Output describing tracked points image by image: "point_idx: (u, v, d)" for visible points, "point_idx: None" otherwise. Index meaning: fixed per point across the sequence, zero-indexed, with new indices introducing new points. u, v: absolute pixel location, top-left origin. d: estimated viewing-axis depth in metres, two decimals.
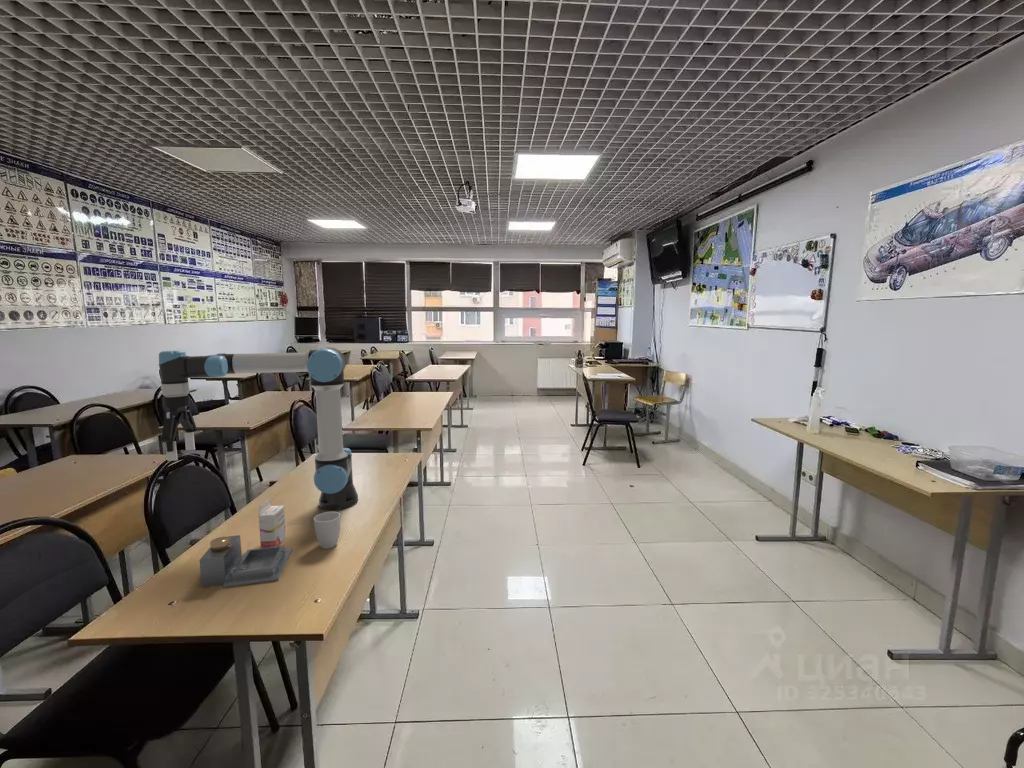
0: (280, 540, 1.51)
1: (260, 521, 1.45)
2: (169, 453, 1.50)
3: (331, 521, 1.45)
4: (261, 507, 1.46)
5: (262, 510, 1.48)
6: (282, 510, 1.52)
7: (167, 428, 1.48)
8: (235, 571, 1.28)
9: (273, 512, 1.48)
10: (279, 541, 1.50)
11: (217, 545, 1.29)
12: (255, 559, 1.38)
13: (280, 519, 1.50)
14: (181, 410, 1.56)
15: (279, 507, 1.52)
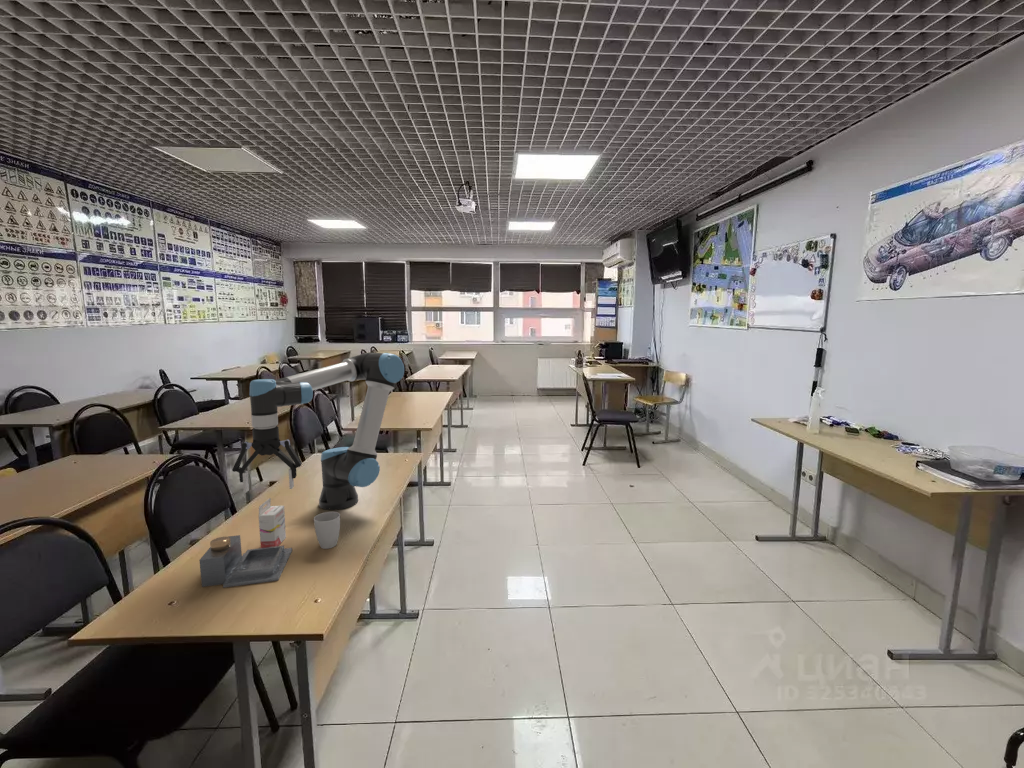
0: (280, 540, 1.51)
1: (260, 521, 1.45)
2: None
3: (331, 521, 1.45)
4: (261, 507, 1.46)
5: (262, 510, 1.48)
6: (282, 510, 1.52)
7: None
8: (235, 571, 1.28)
9: (273, 512, 1.48)
10: (279, 541, 1.50)
11: (217, 545, 1.29)
12: (255, 559, 1.38)
13: (280, 519, 1.50)
14: (266, 443, 1.45)
15: (279, 507, 1.52)
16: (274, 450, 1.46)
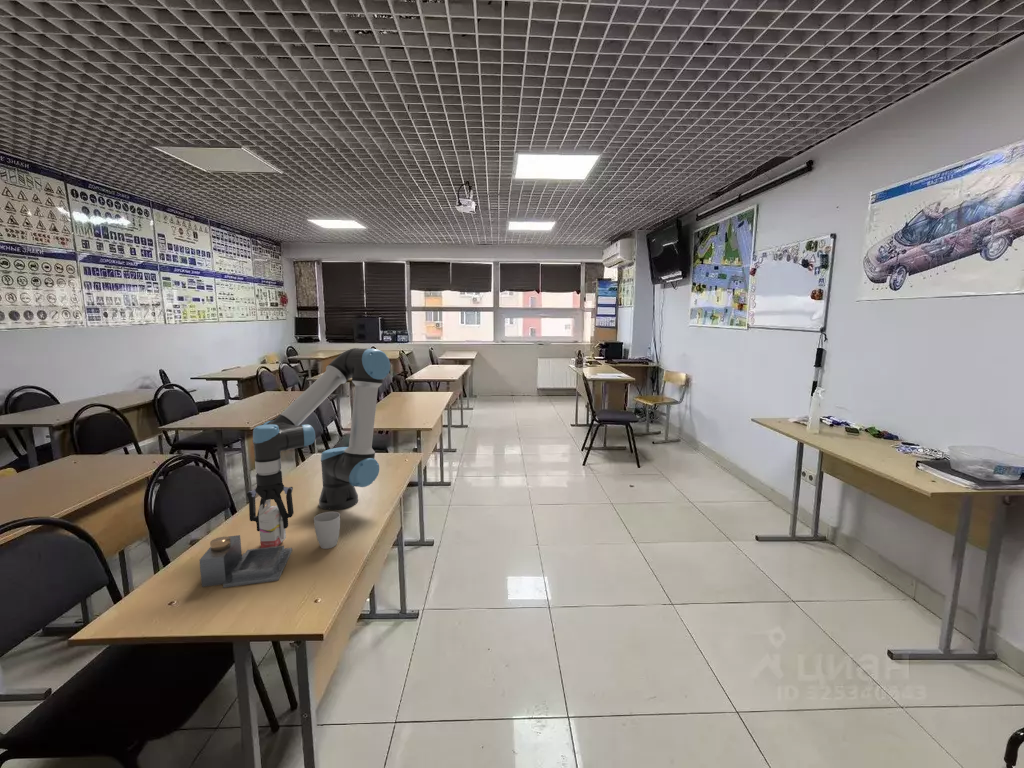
0: (280, 540, 1.51)
1: (260, 521, 1.45)
2: None
3: (331, 521, 1.45)
4: (261, 507, 1.46)
5: (262, 509, 1.47)
6: None
7: None
8: (235, 571, 1.28)
9: (273, 512, 1.48)
10: (279, 541, 1.50)
11: (217, 545, 1.29)
12: (255, 559, 1.38)
13: (280, 519, 1.50)
14: (269, 488, 1.47)
15: None
16: (275, 496, 1.48)
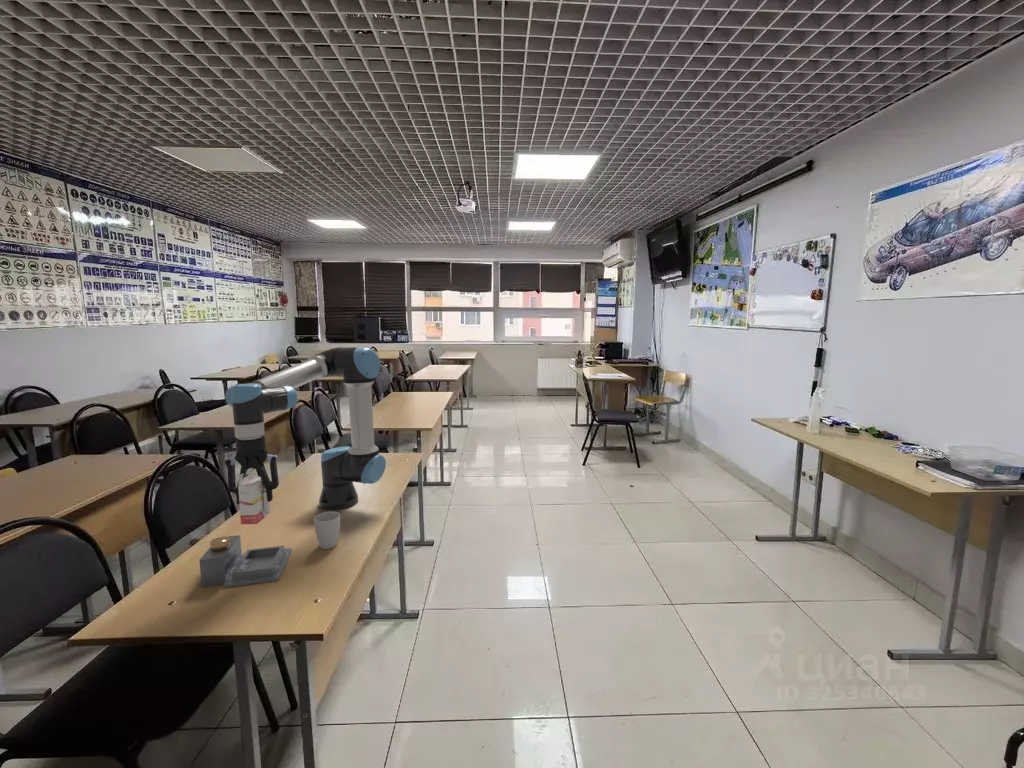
0: (264, 515, 1.34)
1: (240, 492, 1.28)
2: None
3: (331, 521, 1.45)
4: (241, 477, 1.29)
5: (243, 479, 1.30)
6: None
7: None
8: (235, 571, 1.28)
9: (254, 482, 1.31)
10: (262, 516, 1.32)
11: (217, 545, 1.29)
12: (255, 559, 1.38)
13: (263, 490, 1.33)
14: (251, 455, 1.30)
15: None
16: (258, 465, 1.30)
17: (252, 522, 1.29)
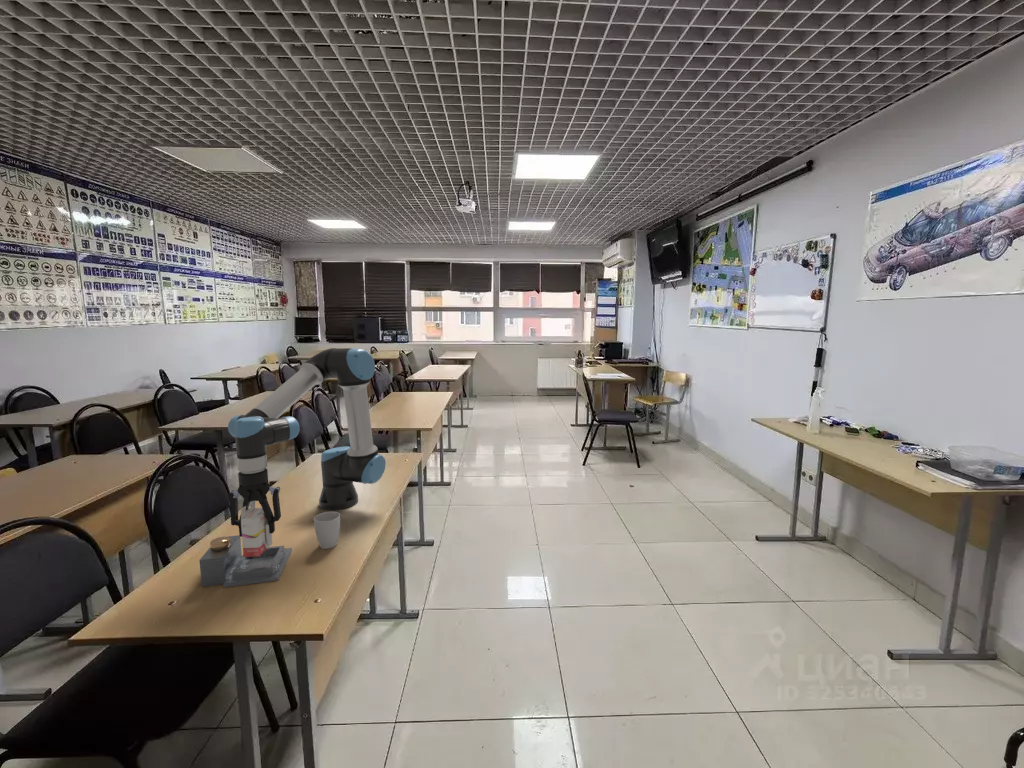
0: (266, 546, 1.35)
1: (243, 525, 1.29)
2: None
3: (331, 521, 1.45)
4: (244, 510, 1.30)
5: (245, 512, 1.31)
6: None
7: None
8: (235, 571, 1.28)
9: (257, 514, 1.32)
10: (264, 547, 1.34)
11: (217, 545, 1.29)
12: (255, 559, 1.38)
13: (265, 522, 1.34)
14: (253, 488, 1.31)
15: None
16: (260, 497, 1.31)
17: (254, 555, 1.30)
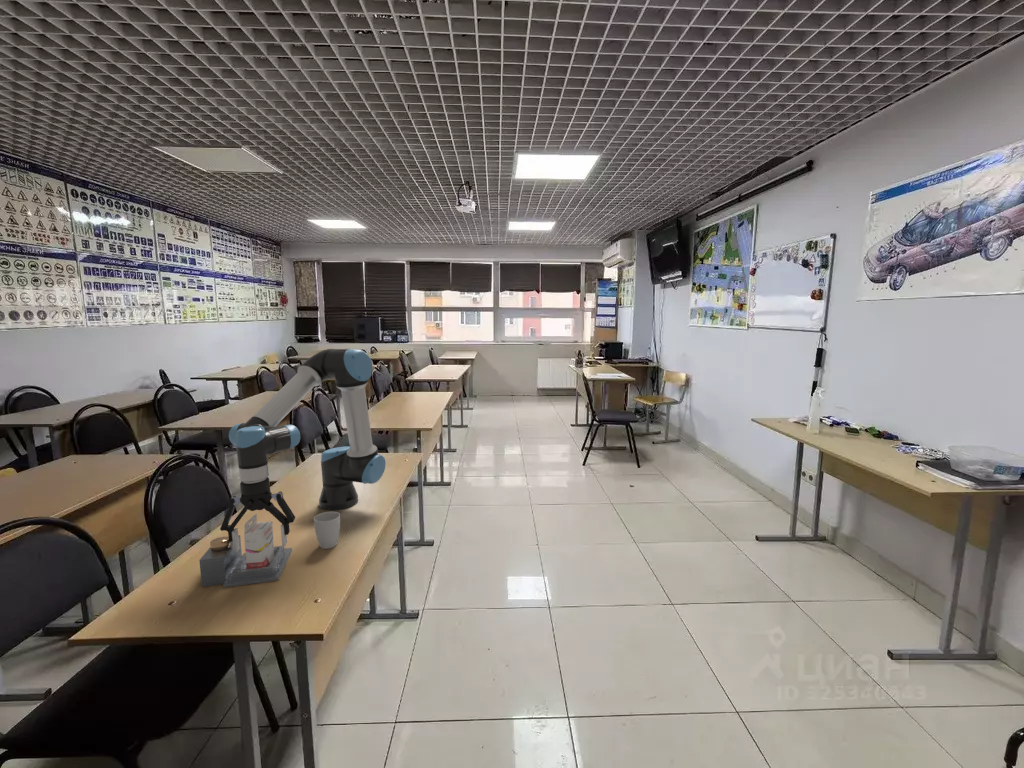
0: (269, 560, 1.36)
1: (246, 540, 1.30)
2: None
3: (331, 521, 1.45)
4: (247, 525, 1.31)
5: (248, 527, 1.32)
6: (270, 527, 1.37)
7: (226, 514, 1.31)
8: (235, 571, 1.28)
9: (260, 529, 1.33)
10: (267, 561, 1.35)
11: (217, 545, 1.29)
12: None
13: (268, 537, 1.35)
14: (255, 498, 1.32)
15: (267, 523, 1.37)
16: (265, 505, 1.32)
17: None
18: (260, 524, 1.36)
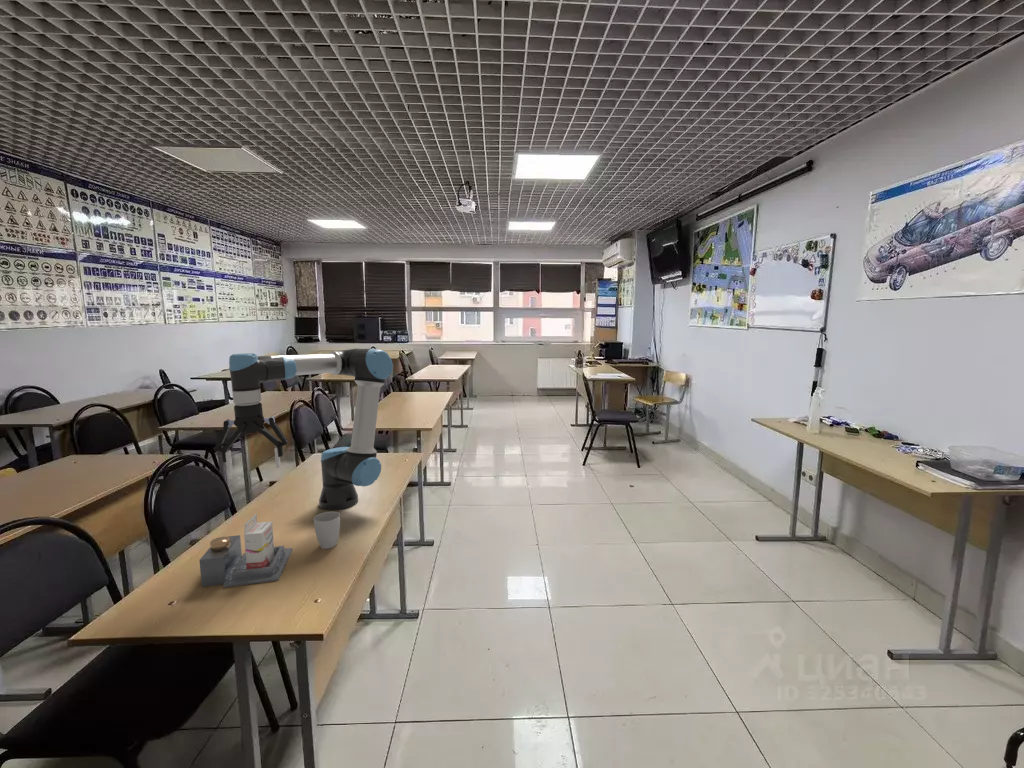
0: (269, 560, 1.36)
1: (246, 540, 1.30)
2: None
3: (331, 521, 1.45)
4: (247, 525, 1.31)
5: (248, 527, 1.32)
6: (270, 527, 1.37)
7: (220, 436, 1.37)
8: (235, 571, 1.28)
9: (260, 529, 1.33)
10: (267, 561, 1.35)
11: (217, 545, 1.29)
12: None
13: (268, 537, 1.35)
14: (249, 421, 1.38)
15: (267, 523, 1.37)
16: (258, 428, 1.39)
17: None
18: (260, 524, 1.36)
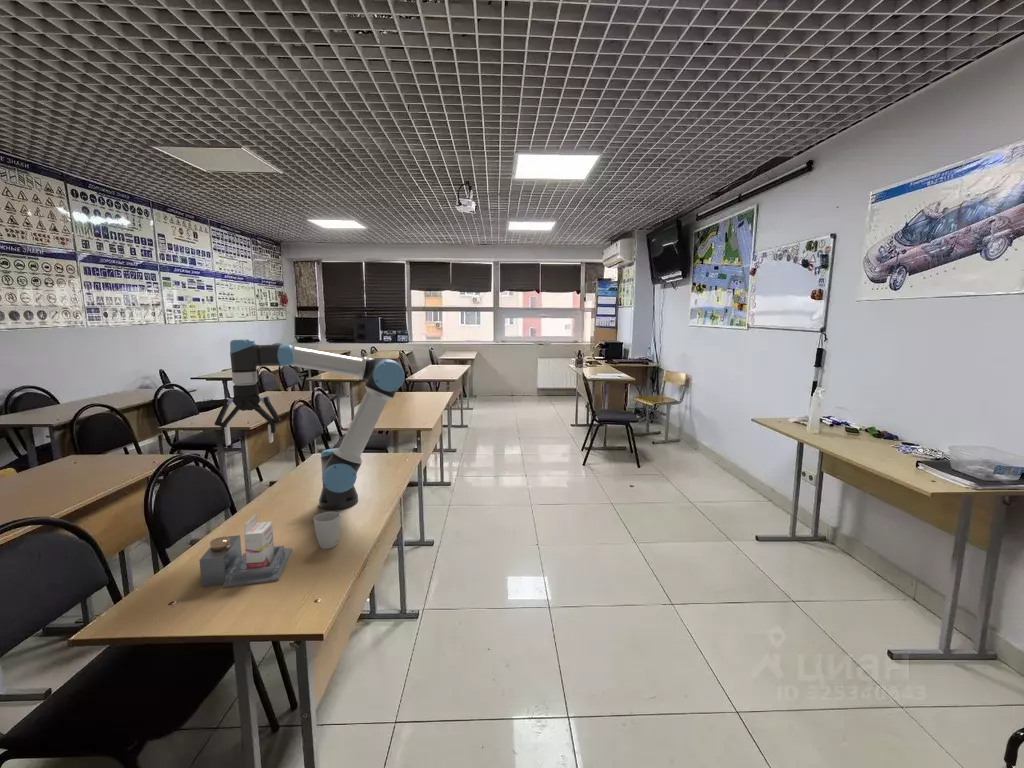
0: (269, 560, 1.36)
1: (246, 540, 1.30)
2: None
3: (331, 521, 1.45)
4: (247, 525, 1.31)
5: (248, 527, 1.32)
6: (270, 527, 1.37)
7: None
8: (235, 571, 1.28)
9: (260, 529, 1.33)
10: (267, 561, 1.35)
11: (217, 545, 1.29)
12: None
13: (268, 537, 1.35)
14: (246, 399, 1.55)
15: (267, 523, 1.37)
16: (254, 406, 1.55)
17: None
18: (260, 524, 1.36)
